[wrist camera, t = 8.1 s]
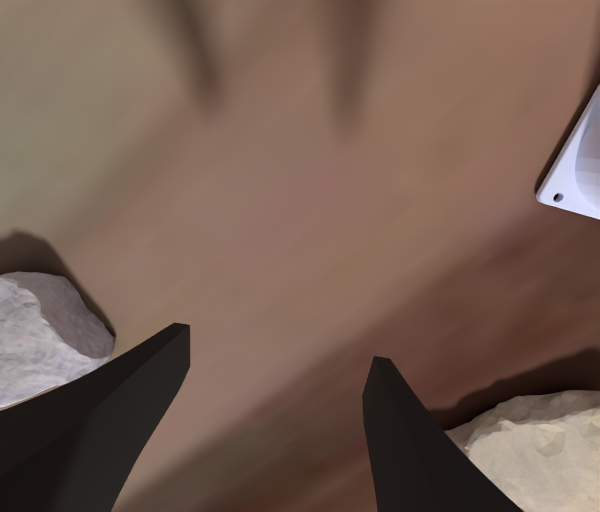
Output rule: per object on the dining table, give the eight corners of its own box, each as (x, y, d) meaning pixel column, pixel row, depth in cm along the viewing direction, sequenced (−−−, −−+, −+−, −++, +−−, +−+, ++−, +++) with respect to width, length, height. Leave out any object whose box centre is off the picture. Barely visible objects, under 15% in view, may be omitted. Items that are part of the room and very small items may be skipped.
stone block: (-27, 289, 26) (28, 388, 27) (-108, 308, 21) (-38, 427, 22) (78, 241, 24) (132, 351, 25) (14, 251, 19) (84, 385, 20)
